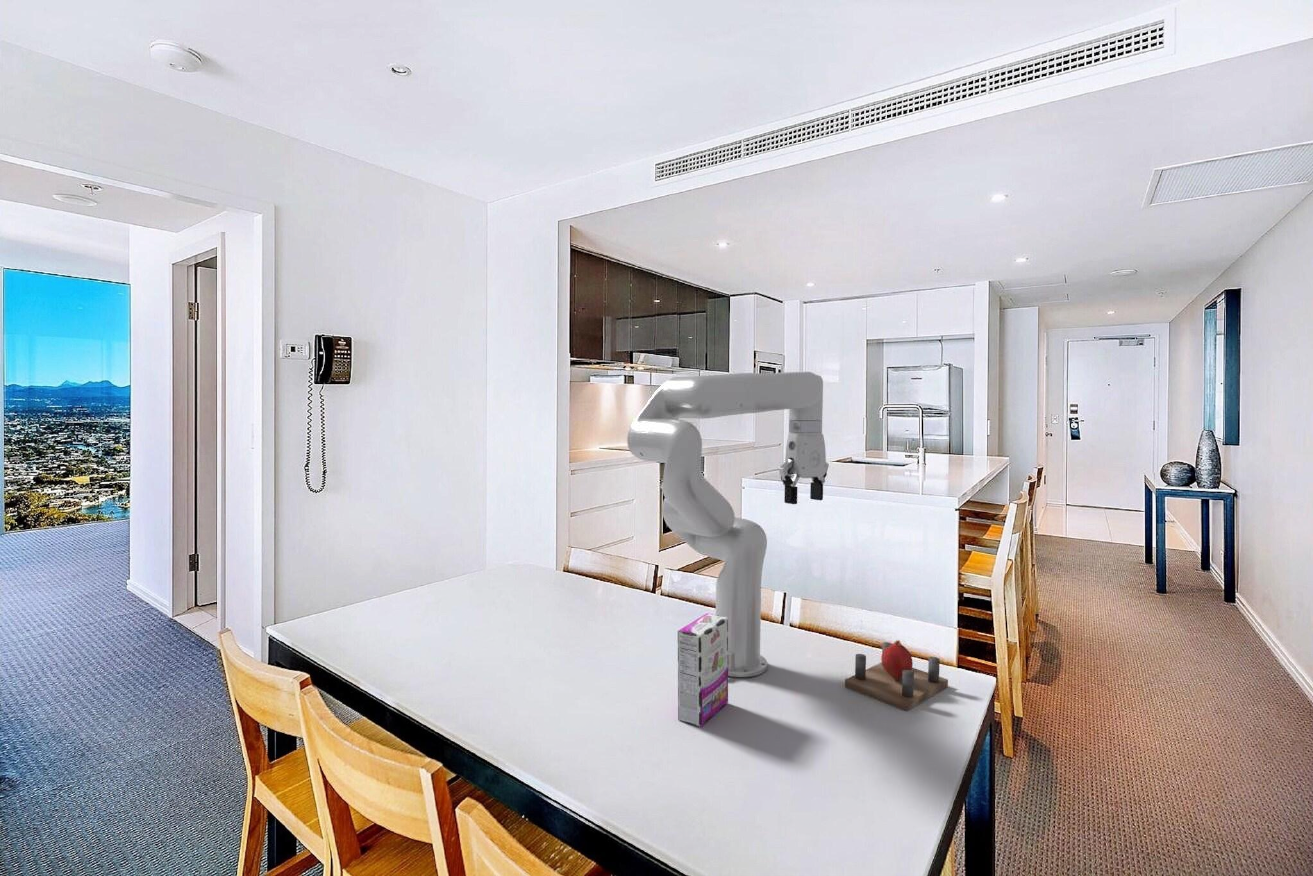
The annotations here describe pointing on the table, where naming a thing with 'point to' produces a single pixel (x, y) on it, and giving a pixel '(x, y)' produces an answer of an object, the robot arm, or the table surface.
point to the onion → (896, 660)
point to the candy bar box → (702, 669)
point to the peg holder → (896, 682)
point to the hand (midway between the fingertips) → (803, 501)
